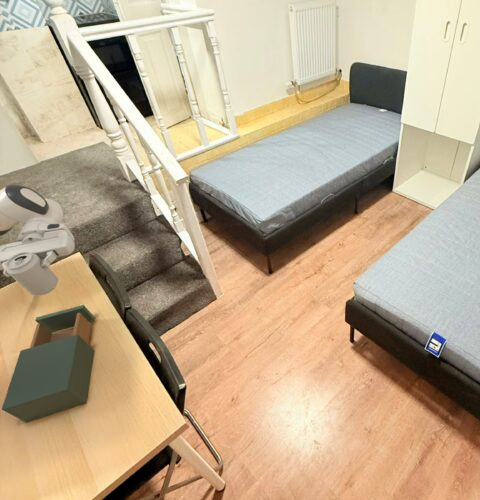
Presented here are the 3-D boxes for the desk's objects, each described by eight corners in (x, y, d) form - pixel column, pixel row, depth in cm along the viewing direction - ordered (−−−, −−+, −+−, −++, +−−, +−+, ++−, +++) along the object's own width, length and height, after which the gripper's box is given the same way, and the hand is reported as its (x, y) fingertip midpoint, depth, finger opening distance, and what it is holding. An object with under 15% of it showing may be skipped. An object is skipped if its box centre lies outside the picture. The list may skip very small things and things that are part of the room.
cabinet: (41, 365, 92) (20, 350, 86) (94, 350, 95) (78, 334, 89) (26, 422, 82) (1, 409, 76) (86, 403, 85) (67, 389, 79)
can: (62, 274, 101) (36, 246, 93) (58, 292, 96) (31, 264, 88) (34, 282, 99) (5, 254, 91) (28, 301, 94) (-2, 273, 86)
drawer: (51, 326, 100) (36, 314, 95) (96, 314, 103) (84, 301, 98) (38, 374, 90) (21, 362, 85) (88, 359, 92) (75, 347, 87)
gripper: (-10, 239, 96) (-27, 272, 87) (69, 222, 100) (60, 252, 91) (6, 254, 100) (-10, 288, 91) (80, 237, 105) (73, 268, 96)
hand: (26, 270), depth 91 cm, fingers closed on can, 7 cm apart
